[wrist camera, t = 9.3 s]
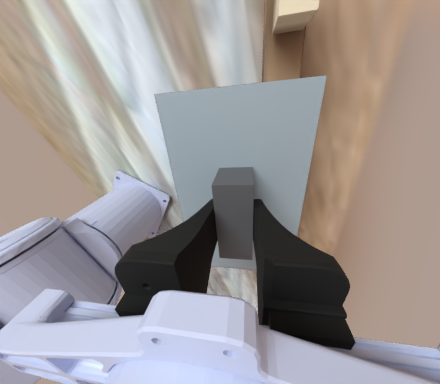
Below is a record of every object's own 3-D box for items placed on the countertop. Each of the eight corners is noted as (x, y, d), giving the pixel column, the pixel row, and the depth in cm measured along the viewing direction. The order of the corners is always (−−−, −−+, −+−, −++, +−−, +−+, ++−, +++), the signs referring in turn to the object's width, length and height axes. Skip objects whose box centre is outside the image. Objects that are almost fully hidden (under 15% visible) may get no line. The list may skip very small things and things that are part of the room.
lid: (286, 257, 18) (298, 305, 13) (197, 251, 19) (183, 292, 15) (314, 79, 10) (360, 62, 6) (166, 95, 12) (122, 90, 8)
